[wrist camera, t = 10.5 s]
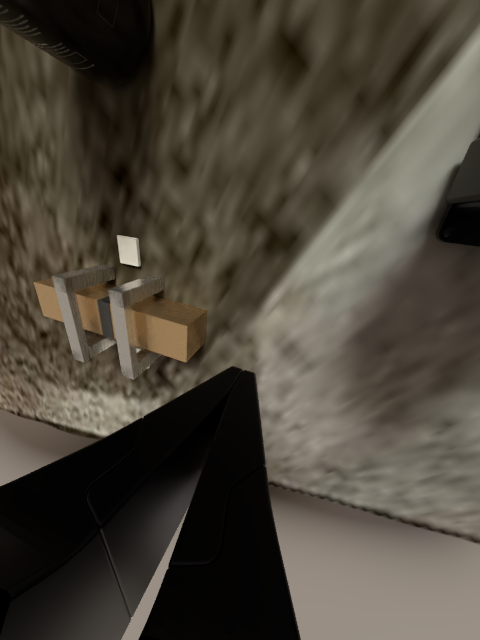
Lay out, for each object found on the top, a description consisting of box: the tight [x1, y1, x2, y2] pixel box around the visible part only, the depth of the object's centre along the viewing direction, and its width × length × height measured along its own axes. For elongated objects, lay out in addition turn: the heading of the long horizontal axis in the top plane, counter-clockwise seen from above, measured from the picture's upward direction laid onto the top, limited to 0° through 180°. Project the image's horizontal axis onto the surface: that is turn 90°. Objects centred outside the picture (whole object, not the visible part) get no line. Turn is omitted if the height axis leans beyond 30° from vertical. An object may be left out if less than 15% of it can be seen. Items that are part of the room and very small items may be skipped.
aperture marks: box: [117, 235, 150, 369], centre depth 23 cm, size 2×14×1 cm, turn 173°
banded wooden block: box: [34, 278, 207, 362], centre depth 21 cm, size 16×4×4 cm, turn 82°
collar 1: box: [52, 265, 117, 362], centre depth 21 cm, size 1×8×5 cm, turn 174°
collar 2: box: [108, 275, 164, 380], centre depth 20 cm, size 1×8×5 cm, turn 174°
